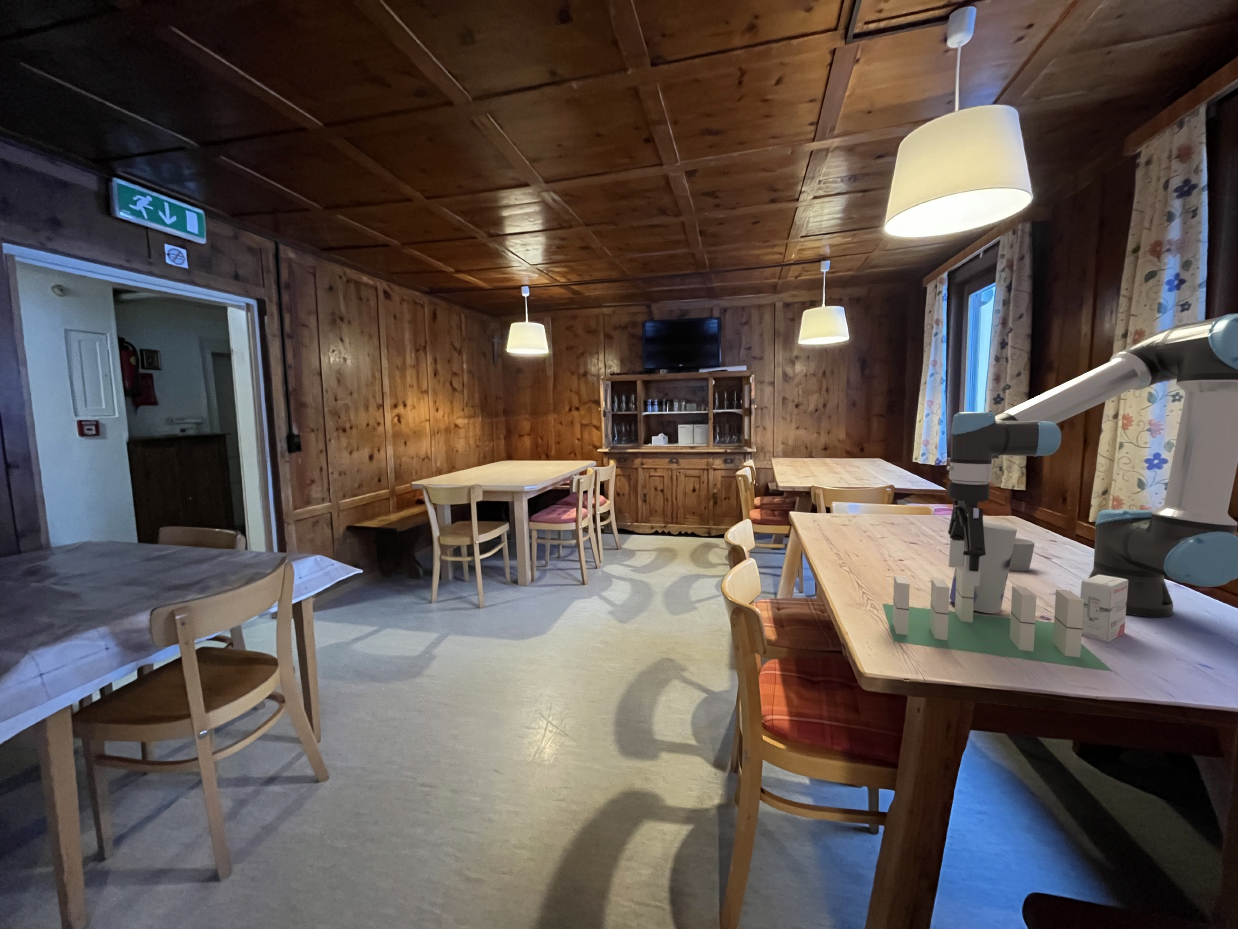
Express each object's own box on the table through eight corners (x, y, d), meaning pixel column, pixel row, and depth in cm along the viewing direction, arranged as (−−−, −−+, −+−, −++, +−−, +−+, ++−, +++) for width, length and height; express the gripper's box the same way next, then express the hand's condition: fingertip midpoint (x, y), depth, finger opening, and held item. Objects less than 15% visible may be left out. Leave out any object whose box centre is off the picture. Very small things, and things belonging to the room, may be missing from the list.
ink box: (1095, 626, 106) (1098, 572, 105) (1126, 634, 102) (1130, 579, 101) (1076, 635, 102) (1080, 579, 101) (1108, 644, 98) (1112, 586, 97)
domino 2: (941, 629, 105) (943, 579, 104) (947, 640, 100) (949, 587, 99) (929, 628, 106) (931, 578, 105) (934, 638, 101) (936, 586, 100)
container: (1009, 617, 112) (1027, 531, 109) (961, 609, 114) (977, 525, 111) (986, 600, 121) (1002, 522, 119) (942, 594, 123) (956, 516, 121)
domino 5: (1067, 645, 97) (1070, 590, 96) (1080, 657, 92) (1084, 600, 91) (1052, 643, 98) (1055, 589, 97) (1065, 655, 93) (1068, 599, 92)
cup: (1038, 570, 145) (1040, 541, 144) (1020, 575, 140) (1021, 546, 139) (1009, 563, 151) (1010, 536, 151) (990, 568, 147) (991, 540, 146)
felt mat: (1058, 625, 107) (1058, 623, 107) (1112, 673, 87) (1112, 671, 87) (882, 605, 120) (882, 603, 120) (893, 643, 100) (893, 641, 100)
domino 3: (966, 613, 113) (968, 566, 112) (972, 622, 108) (975, 573, 107) (954, 612, 114) (956, 565, 113) (960, 621, 109) (962, 572, 108)
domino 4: (1023, 639, 100) (1025, 586, 99) (1033, 651, 94) (1036, 596, 93) (1009, 637, 100) (1012, 585, 99) (1019, 649, 95) (1022, 594, 94)
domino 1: (904, 624, 108) (905, 576, 107) (908, 635, 103) (909, 583, 102) (892, 623, 109) (893, 574, 108) (895, 633, 103) (897, 582, 102)
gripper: (937, 475, 121) (932, 559, 123) (963, 488, 98) (956, 591, 100) (973, 476, 118) (968, 562, 120) (1009, 490, 96) (1001, 596, 97)
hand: (963, 575), depth 110 cm, fingers open, 13 cm apart
